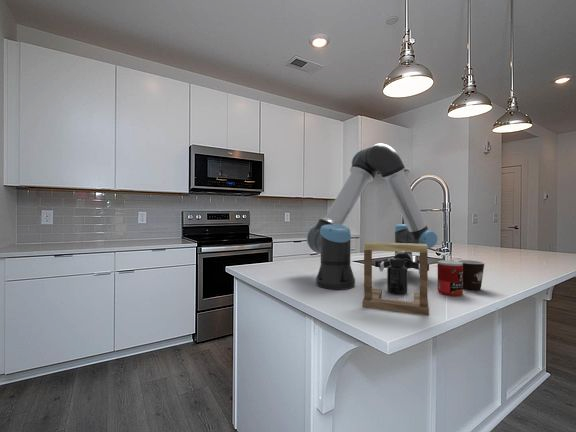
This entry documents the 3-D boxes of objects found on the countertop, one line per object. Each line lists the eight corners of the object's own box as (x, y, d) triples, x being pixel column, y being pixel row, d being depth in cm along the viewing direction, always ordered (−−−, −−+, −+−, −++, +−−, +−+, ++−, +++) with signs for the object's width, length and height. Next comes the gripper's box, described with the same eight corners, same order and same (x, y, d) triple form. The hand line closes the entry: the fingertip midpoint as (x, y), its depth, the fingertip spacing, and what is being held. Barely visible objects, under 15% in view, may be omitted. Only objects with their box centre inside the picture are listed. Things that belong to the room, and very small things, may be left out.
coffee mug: (476, 286, 111) (476, 260, 111) (489, 292, 103) (489, 264, 103) (444, 285, 113) (444, 259, 112) (455, 291, 104) (455, 263, 104)
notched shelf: (370, 294, 101) (370, 239, 101) (427, 300, 94) (427, 241, 94) (362, 306, 88) (362, 244, 88) (428, 315, 80) (428, 246, 80)
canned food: (454, 297, 97) (454, 264, 96) (432, 292, 104) (432, 261, 104) (468, 294, 100) (468, 262, 100) (446, 289, 107) (446, 259, 107)
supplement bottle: (411, 294, 101) (411, 259, 101) (395, 295, 99) (395, 260, 99) (399, 289, 108) (399, 256, 108) (383, 290, 106) (383, 257, 106)
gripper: (433, 271, 124) (437, 282, 105) (373, 266, 134) (366, 276, 115) (433, 253, 124) (437, 261, 104) (373, 250, 134) (366, 257, 114)
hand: (400, 269), depth 109 cm, fingers open, 13 cm apart
